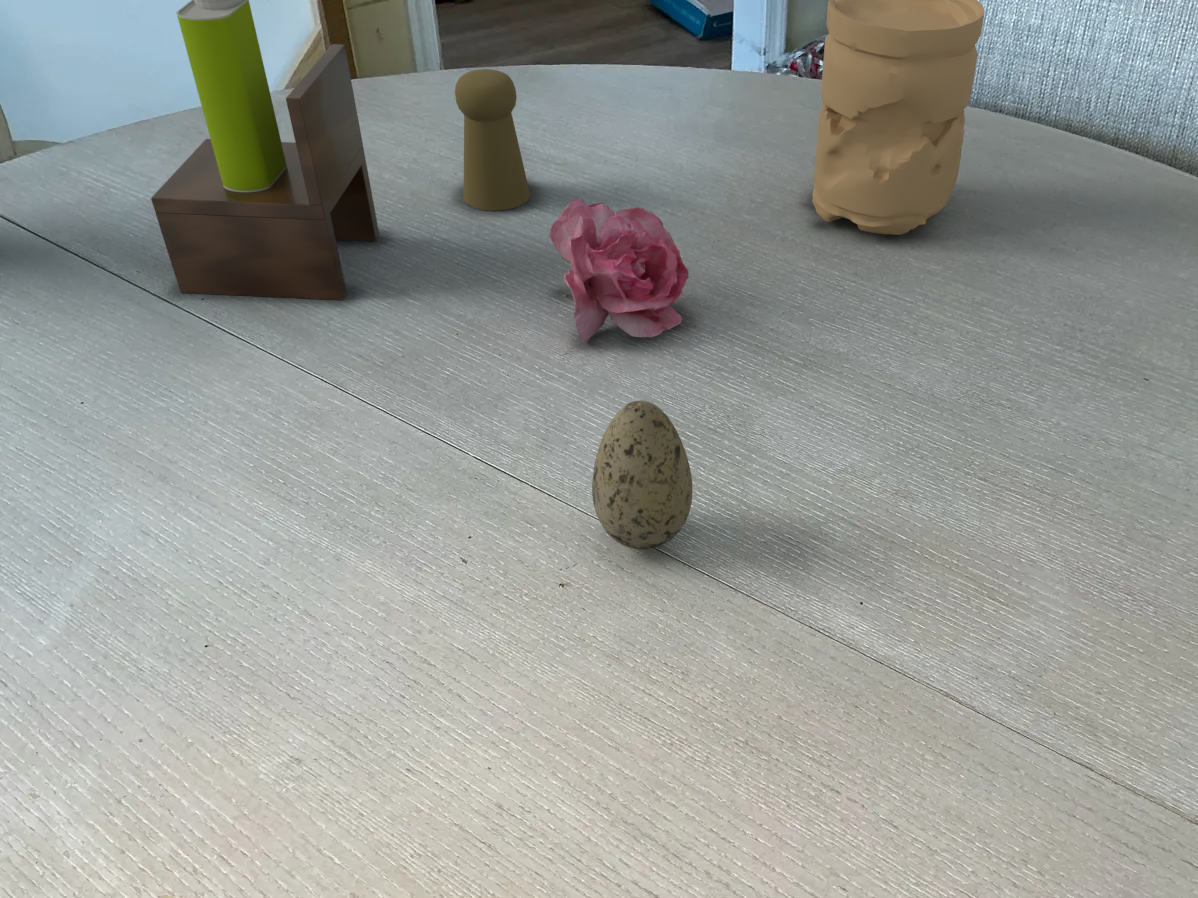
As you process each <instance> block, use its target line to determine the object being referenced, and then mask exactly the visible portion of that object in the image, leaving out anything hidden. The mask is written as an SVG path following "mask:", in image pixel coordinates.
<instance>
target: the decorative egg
mask: <svg viewBox="0 0 1198 898" xmlns="http://www.w3.org/2000/svg"><path fill="white" fill-rule="evenodd" d="M691 471H692V470H691V466H690V462H689V459H688V456H687V452H686V449H685V447H684V444H683V442H682V439H681V436H680V435H679V432H678V431H677V429H676V427H675V425H674V424H673V422H672V421H671V419H670V418H669V416H668V415H667V414H666V413H665V412H664V410H663V409H661V408H660V407H659V406H658V405H656V404H655V403H652V402H650V401H647V400H634V401H632V402H629V403H627V404H626V405H624V406H623V407H621V408H620V409H619V410H618V411H617V412H616V414H615V415H614V416H613V418H612V419H611V421H610V422H609V424H608V425H607V427H606V429H605V431H604V433H603V435H602V438H601V441H600V444H599V447H598V449H597V452H596V456H595V461H594V466H593V471H592V480H591V481H592V482H591V493H592V494H591V495H592V502H593V507H594V511H595V514H596V517H597V519H598V522H599V523H600V526H601V527H602V528H603V530H604V531H605V532H606V533H607V534H608V536H610V537H611V538H612V539H613V540H615V541H616V542H617V543H619V544H620V545H622V546H625V547H627V548H630V549H633V550H652V549H656V548H659V547H662V546H663V545H665V544H667V543H668V542H670V541H671V540H672V539H674V537H676V536H677V535H678V534H679V533H680V531H681V530H682V528H683V527H684V525H685V524H686V522H687V520H688V518H689V515H690V512H691V508H692V504H693V503H692V502H693V479H692V478H693V477H692V472H691Z"/></svg>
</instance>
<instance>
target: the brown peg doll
mask: <svg viewBox="0 0 1198 898" xmlns="http://www.w3.org/2000/svg"><path fill="white" fill-rule="evenodd" d="M454 95H455V103H456V105H457V108H458V109H459V111H460V112H461V113H462V114H463V201H464V202H465V204H467V205H468V206H470V207H472V208H473V209H476V210H477V209H478V210H481V211H491V212H498V211H506V210H511V209H515V208H518V207H520V206H522V205H524V204H525V203H527V202H528V201H529V200H530V197H531V191H530V188H529V184H528V179H527V175H526V170H525V166H524V161H523V158H522V152H521V149H520V144H519V140H518V136H517V131H516V127H515V122H514V118H513V114H512V112H513V110H514V109H515V107H516V103H517V90H516V87H515V84H514V81H513V80H512V78H511V76H509V75H508V74H507V73H505V72H504V71H503V72H502V71H500V70H497V69H491V68H490V69H489V68H480V69H479V68H478V69H475V70H469V71H467V72H465V73H464V74H462V75H461V76H459V78H458V79H457V81H456V83H455V87H454Z"/></svg>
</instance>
